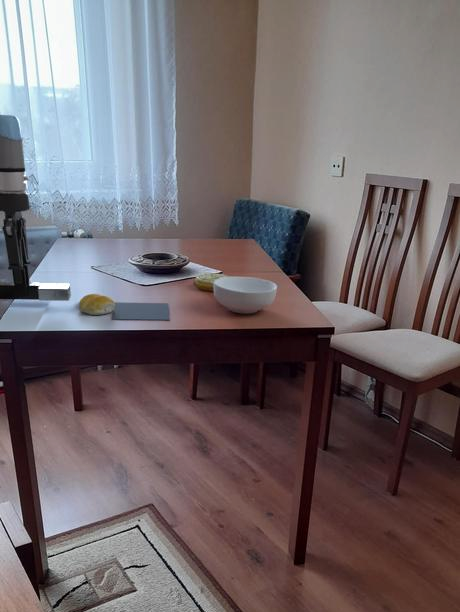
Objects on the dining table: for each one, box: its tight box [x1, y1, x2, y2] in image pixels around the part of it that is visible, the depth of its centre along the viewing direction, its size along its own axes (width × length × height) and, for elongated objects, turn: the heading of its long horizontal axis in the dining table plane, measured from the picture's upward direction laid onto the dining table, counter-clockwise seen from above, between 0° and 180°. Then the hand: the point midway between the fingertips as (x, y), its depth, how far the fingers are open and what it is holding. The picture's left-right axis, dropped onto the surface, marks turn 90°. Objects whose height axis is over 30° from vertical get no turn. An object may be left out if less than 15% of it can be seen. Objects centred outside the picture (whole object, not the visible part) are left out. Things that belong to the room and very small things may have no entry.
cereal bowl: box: [213, 276, 278, 315], centre depth 146 cm, size 17×17×7 cm
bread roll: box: [78, 293, 115, 316], centre depth 139 cm, size 8×9×4 cm
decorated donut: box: [194, 272, 229, 292], centre depth 165 cm, size 10×11×4 cm
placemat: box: [111, 301, 171, 321], centre depth 141 cm, size 14×14×1 cm
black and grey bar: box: [0, 281, 72, 302], centre depth 136 cm, size 17×4×4 cm, turn 97°
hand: (23, 293), depth 136 cm, fingers closed on black and grey bar, 3 cm apart
